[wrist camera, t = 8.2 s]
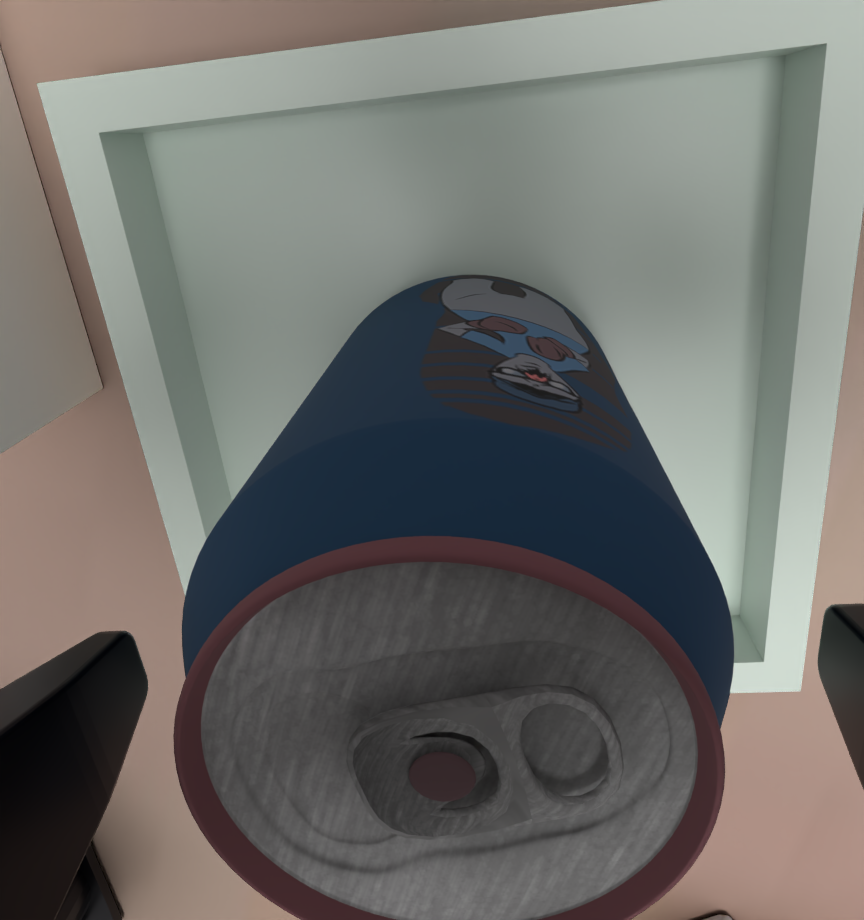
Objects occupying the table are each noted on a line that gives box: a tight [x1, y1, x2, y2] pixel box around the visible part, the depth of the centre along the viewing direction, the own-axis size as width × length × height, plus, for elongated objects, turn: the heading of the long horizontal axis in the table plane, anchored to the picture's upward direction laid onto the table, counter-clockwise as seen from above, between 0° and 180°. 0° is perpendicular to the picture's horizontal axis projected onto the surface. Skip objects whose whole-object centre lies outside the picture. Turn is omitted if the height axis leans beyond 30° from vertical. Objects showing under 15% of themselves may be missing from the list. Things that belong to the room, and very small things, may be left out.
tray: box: [37, 0, 864, 693], centre depth 18 cm, size 16×16×2 cm
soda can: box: [174, 275, 734, 920], centre depth 13 cm, size 7×7×12 cm
